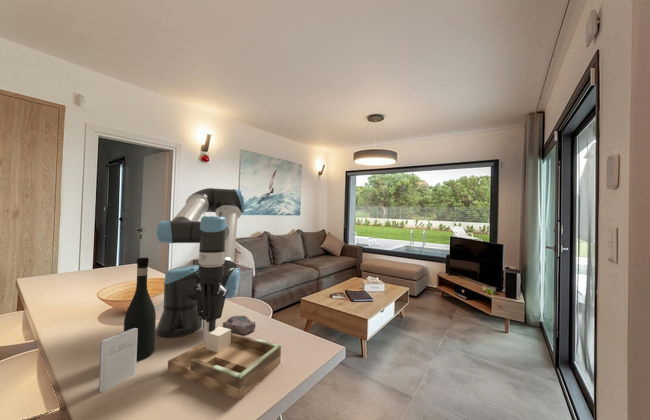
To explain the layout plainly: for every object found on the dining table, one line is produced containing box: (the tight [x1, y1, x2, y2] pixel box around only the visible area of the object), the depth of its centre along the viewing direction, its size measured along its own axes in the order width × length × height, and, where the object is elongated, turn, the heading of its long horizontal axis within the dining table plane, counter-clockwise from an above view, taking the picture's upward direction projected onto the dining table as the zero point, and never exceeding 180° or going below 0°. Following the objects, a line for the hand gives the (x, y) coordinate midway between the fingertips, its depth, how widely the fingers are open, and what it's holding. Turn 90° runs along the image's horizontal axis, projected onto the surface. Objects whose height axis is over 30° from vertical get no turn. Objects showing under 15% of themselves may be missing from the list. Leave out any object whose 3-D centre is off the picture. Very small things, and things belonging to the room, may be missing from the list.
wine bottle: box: [123, 257, 157, 361], centre depth 81 cm, size 8×8×30 cm
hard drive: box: [98, 328, 138, 393], centre depth 68 cm, size 2×8×12 cm, turn 159°
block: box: [206, 325, 231, 353], centre depth 81 cm, size 5×5×5 cm
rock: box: [222, 315, 256, 335], centre depth 98 cm, size 8×11×5 cm
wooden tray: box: [167, 333, 282, 401], centre depth 75 cm, size 26×17×6 cm, turn 66°
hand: (208, 340), depth 82 cm, fingers closed
